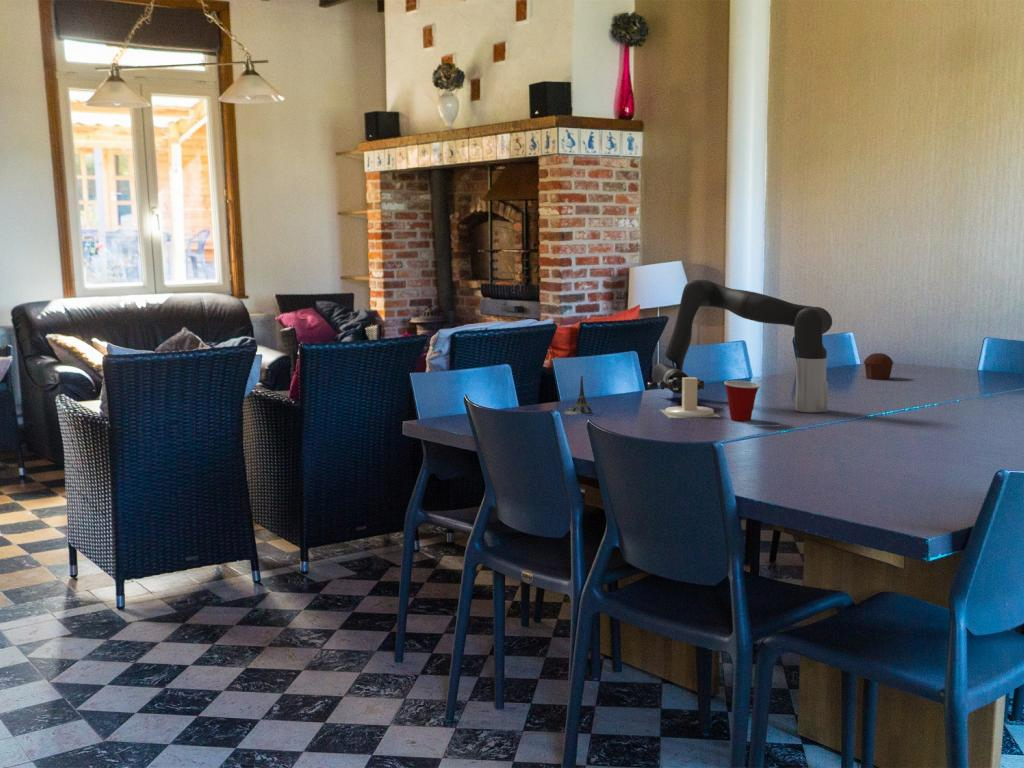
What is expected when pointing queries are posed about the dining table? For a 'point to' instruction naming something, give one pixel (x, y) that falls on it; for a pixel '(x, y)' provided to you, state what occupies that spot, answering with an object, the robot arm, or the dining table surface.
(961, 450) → the dining table surface
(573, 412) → the eiffel tower figurine
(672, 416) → the mat
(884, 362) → the muffin
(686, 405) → the lid
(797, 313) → the robot arm
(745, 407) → the plastic cup
